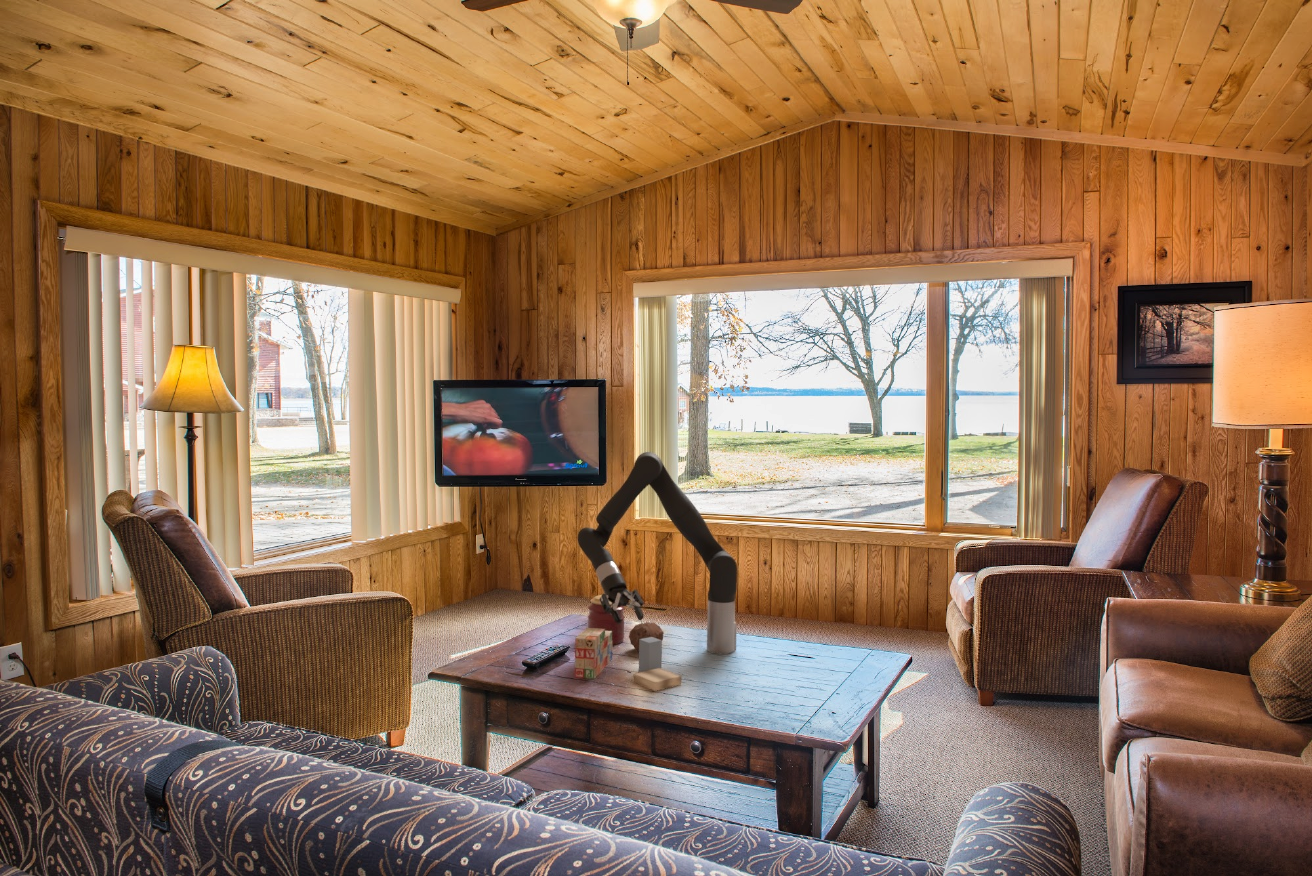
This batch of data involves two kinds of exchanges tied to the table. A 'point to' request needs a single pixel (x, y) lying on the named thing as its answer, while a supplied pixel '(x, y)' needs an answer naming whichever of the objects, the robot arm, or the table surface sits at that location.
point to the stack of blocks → (592, 652)
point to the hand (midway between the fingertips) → (630, 620)
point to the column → (650, 654)
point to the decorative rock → (644, 633)
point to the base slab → (657, 679)
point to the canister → (606, 619)
